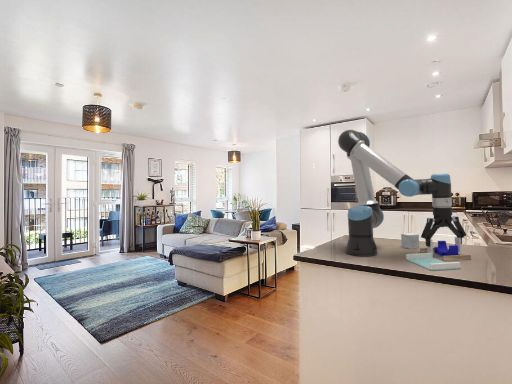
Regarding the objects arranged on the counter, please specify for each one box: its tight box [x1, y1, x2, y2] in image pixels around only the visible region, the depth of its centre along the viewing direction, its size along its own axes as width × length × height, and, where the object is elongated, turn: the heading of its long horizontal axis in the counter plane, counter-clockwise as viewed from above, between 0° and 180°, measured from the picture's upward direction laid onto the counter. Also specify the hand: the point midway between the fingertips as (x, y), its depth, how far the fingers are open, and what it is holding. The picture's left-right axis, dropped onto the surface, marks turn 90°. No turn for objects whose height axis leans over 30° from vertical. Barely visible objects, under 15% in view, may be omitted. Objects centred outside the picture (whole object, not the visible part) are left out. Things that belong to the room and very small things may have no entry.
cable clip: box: [434, 240, 459, 257], centre depth 127 cm, size 12×4×6 cm, turn 170°
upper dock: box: [419, 246, 472, 262], centre depth 127 cm, size 16×12×2 cm
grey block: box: [400, 232, 420, 250], centre depth 146 cm, size 6×6×7 cm
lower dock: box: [405, 252, 461, 271], centre depth 116 cm, size 16×12×2 cm
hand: (444, 252), depth 127 cm, fingers open, 13 cm apart
